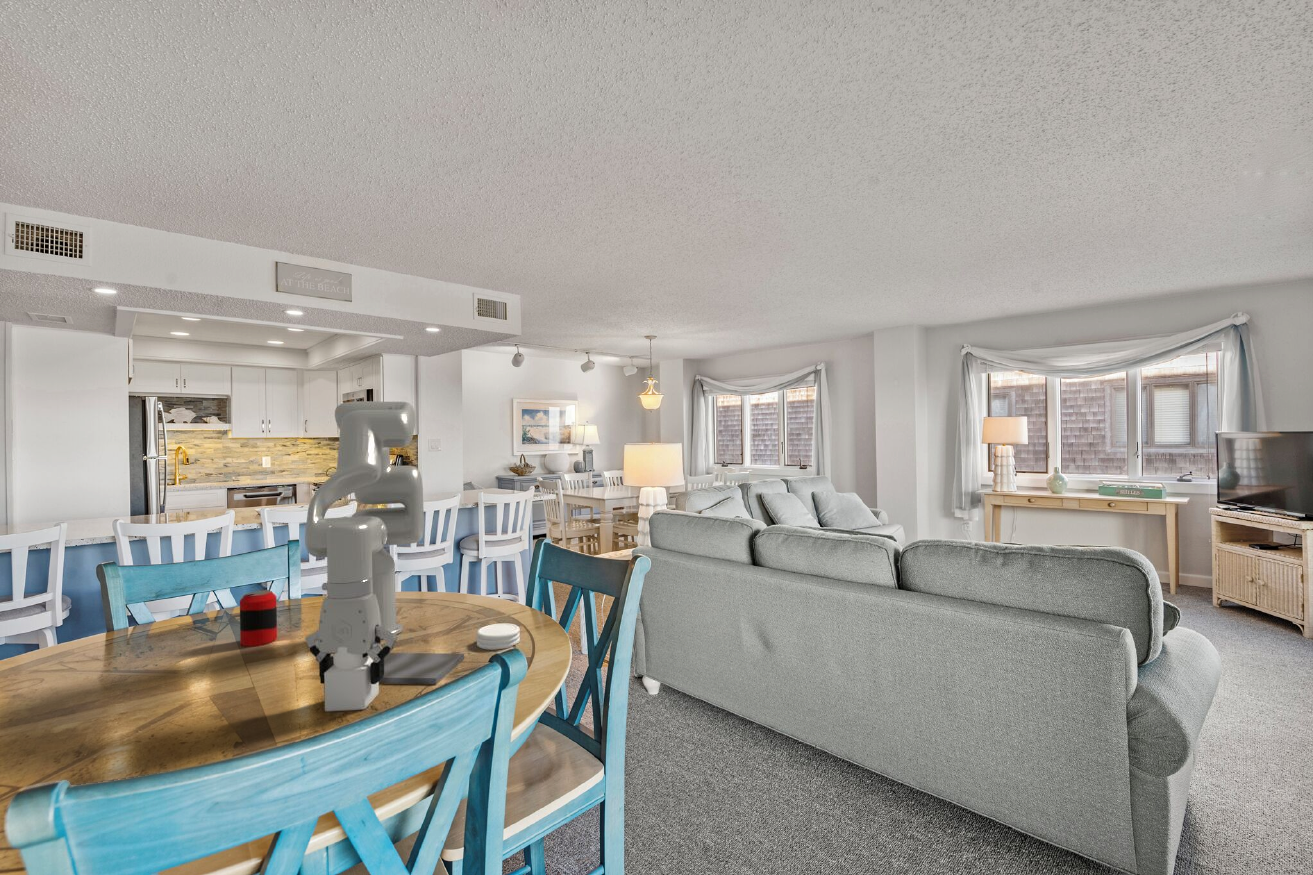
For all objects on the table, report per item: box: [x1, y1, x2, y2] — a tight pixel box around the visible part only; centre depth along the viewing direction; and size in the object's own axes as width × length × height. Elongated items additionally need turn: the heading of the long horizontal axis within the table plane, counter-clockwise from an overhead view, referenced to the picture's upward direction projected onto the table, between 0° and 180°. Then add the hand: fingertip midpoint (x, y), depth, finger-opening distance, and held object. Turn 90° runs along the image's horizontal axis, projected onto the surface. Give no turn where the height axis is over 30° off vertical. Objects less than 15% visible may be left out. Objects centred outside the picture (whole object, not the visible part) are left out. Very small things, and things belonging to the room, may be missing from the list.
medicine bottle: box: [323, 647, 380, 712], centre depth 115 cm, size 7×7×12 cm
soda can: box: [239, 589, 278, 648], centre depth 151 cm, size 8×8×12 cm
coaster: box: [476, 622, 521, 651], centre depth 147 cm, size 10×10×4 cm
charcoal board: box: [370, 652, 465, 685], centre depth 130 cm, size 20×14×1 cm
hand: (352, 681), depth 115 cm, fingers open, 9 cm apart
